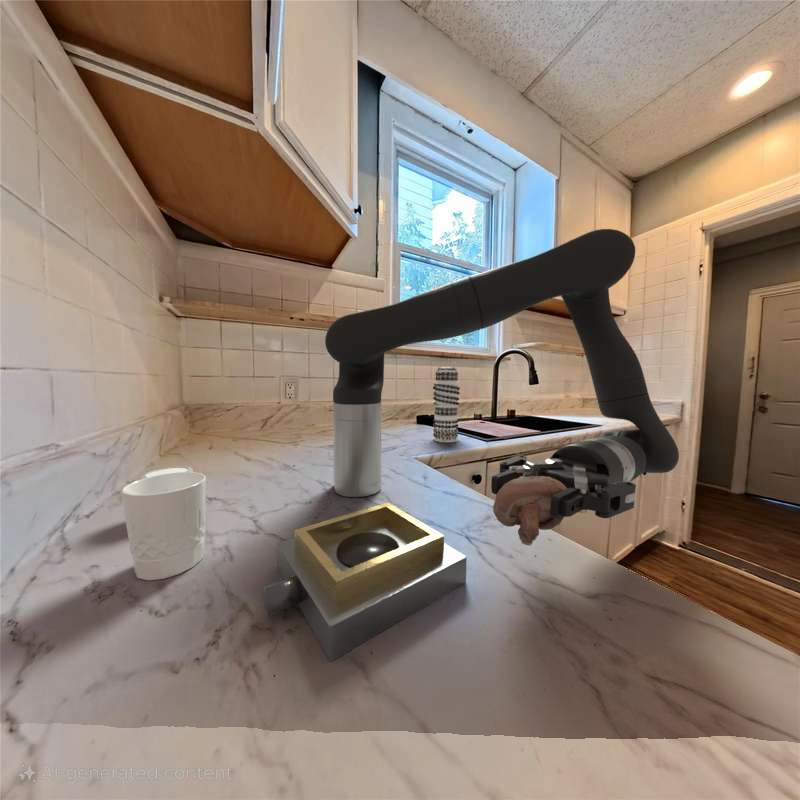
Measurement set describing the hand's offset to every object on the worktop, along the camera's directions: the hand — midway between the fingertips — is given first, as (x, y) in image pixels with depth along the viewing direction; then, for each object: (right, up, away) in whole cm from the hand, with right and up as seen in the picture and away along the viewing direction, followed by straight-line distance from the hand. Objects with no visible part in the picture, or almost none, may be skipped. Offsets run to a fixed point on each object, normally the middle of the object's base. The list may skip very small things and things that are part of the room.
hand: (522, 496), depth 32 cm
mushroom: (+2, -6, +2) cm, 7 cm away
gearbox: (-18, -10, +3) cm, 21 cm away
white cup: (-40, -10, +6) cm, 42 cm away
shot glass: (-50, -9, +18) cm, 54 cm away
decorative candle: (+3, -4, +76) cm, 76 cm away
